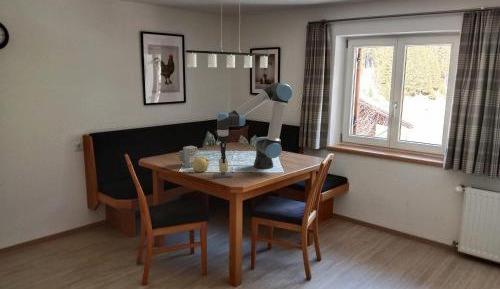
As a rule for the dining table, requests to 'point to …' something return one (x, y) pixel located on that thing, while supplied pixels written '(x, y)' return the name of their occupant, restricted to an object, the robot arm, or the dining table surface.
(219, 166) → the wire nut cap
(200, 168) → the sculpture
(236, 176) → the dining table surface
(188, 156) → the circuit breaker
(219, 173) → the grey plate with rod
